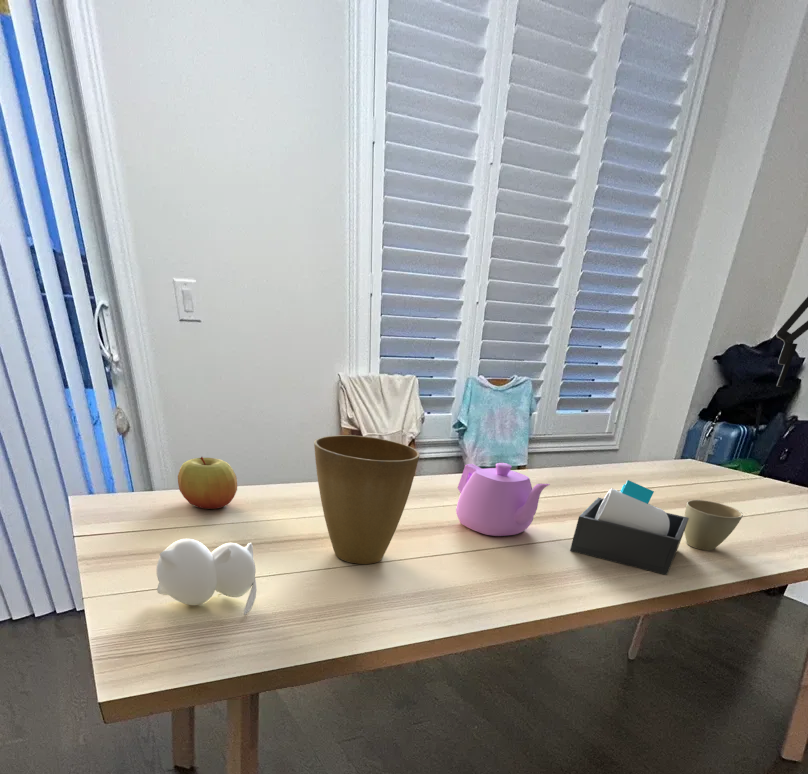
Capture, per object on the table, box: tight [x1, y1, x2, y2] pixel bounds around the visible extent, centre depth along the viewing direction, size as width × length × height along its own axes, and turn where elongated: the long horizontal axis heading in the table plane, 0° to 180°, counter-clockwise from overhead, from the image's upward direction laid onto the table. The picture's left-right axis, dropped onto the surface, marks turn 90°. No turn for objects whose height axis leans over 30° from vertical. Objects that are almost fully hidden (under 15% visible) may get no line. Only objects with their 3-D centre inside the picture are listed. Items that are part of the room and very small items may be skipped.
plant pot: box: [313, 434, 421, 565], centre depth 94 cm, size 15×15×16 cm
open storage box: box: [569, 497, 689, 576], centre depth 112 cm, size 17×16×6 cm
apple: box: [177, 456, 238, 510], centre depth 108 cm, size 10×10×8 cm
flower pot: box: [683, 499, 744, 551], centre depth 119 cm, size 10×10×7 cm
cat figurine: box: [156, 538, 258, 617], centre depth 77 cm, size 9×11×12 cm
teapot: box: [455, 462, 551, 537], centre depth 113 cm, size 13×20×11 cm
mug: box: [594, 479, 670, 536], centre depth 111 cm, size 12×9×12 cm
